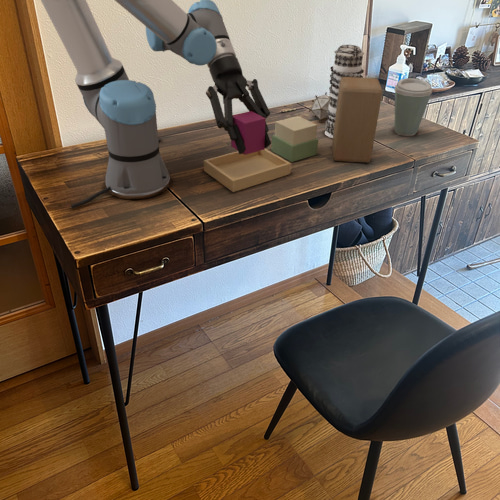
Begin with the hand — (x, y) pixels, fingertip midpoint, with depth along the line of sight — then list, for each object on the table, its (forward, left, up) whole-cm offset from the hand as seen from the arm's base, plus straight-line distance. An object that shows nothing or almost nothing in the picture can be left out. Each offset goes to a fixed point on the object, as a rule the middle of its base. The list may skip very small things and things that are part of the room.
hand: (255, 148), depth 118 cm
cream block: (+18, +7, -3) cm, 20 cm away
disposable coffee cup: (+56, 0, -8) cm, 57 cm away
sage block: (+18, +7, -8) cm, 21 cm away
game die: (+42, +22, -8) cm, 48 cm away
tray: (0, +4, -8) cm, 9 cm away
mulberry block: (0, +4, -1) cm, 4 cm away
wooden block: (+30, -3, -8) cm, 31 cm away
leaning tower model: (+38, +10, -8) cm, 40 cm away
